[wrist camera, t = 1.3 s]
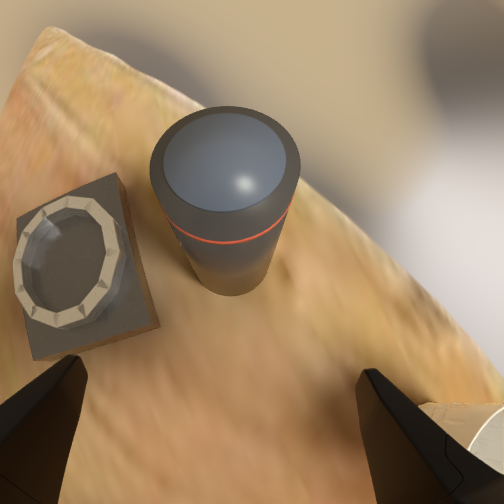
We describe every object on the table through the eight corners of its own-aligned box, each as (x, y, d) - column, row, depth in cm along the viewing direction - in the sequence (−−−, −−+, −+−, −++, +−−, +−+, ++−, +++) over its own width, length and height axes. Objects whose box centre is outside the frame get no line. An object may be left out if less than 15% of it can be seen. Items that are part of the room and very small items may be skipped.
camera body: (160, 326, 22) (145, 321, 18) (49, 361, 20) (22, 359, 16) (124, 186, 25) (109, 162, 22) (30, 228, 24) (7, 211, 20)
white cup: (365, 451, 19) (431, 494, 10) (423, 378, 21) (506, 380, 12) (414, 488, 18) (479, 526, 8) (465, 422, 20) (540, 433, 10)
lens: (230, 312, 22) (219, 262, 10) (177, 257, 24) (121, 159, 11) (285, 258, 24) (331, 160, 12) (231, 208, 25) (228, 86, 13)
